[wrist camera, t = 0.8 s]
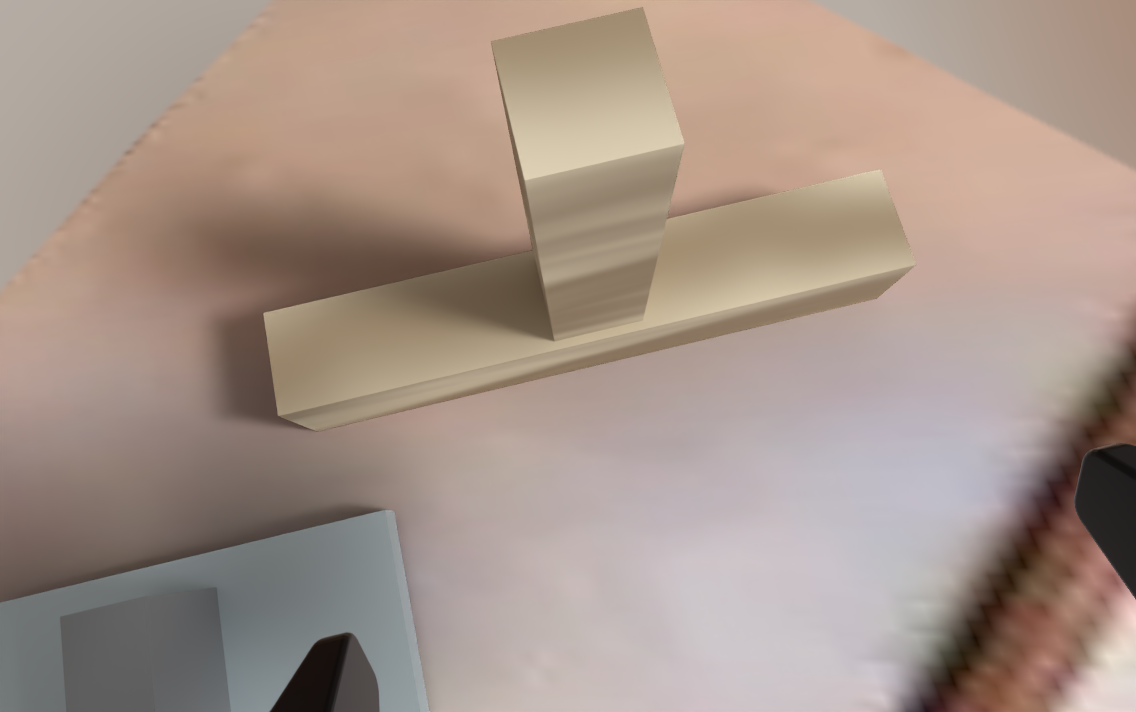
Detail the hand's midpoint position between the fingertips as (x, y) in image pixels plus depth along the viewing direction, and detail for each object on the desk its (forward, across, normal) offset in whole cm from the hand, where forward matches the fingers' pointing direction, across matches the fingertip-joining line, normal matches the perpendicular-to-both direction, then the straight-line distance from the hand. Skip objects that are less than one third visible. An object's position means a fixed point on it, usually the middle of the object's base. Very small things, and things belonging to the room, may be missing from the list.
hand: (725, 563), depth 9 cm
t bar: (+15, 0, +4) cm, 15 cm away
